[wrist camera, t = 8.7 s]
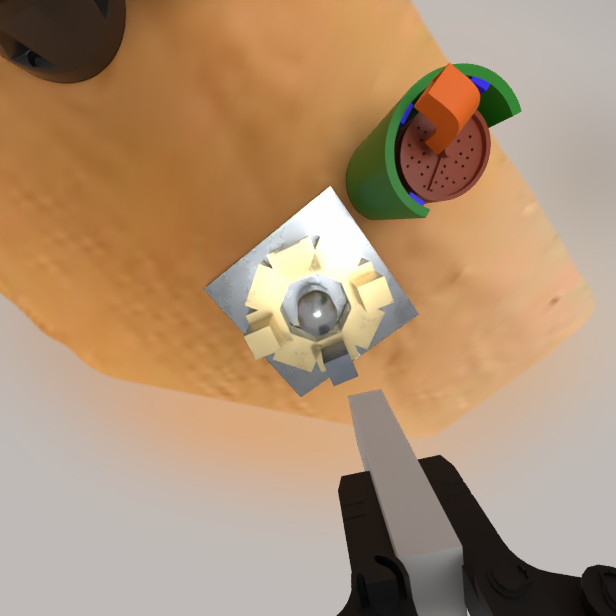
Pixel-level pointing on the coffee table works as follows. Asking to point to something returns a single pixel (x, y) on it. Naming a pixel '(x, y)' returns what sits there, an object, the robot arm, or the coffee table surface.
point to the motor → (429, 143)
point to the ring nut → (296, 342)
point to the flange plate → (310, 284)
